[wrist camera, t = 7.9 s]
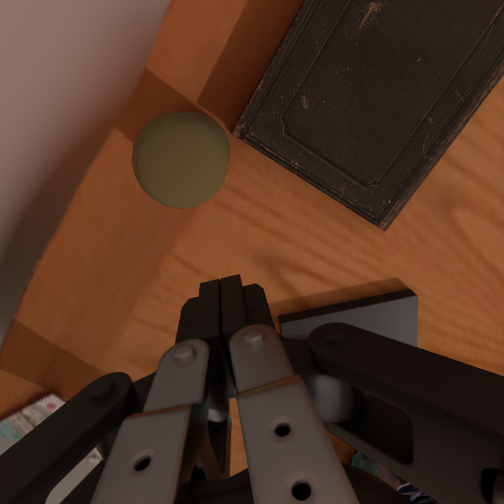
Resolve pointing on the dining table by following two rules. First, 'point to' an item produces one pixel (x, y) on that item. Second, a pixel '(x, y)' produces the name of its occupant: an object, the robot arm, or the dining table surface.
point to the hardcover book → (374, 94)
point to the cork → (181, 158)
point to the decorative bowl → (391, 479)
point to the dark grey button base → (361, 317)
